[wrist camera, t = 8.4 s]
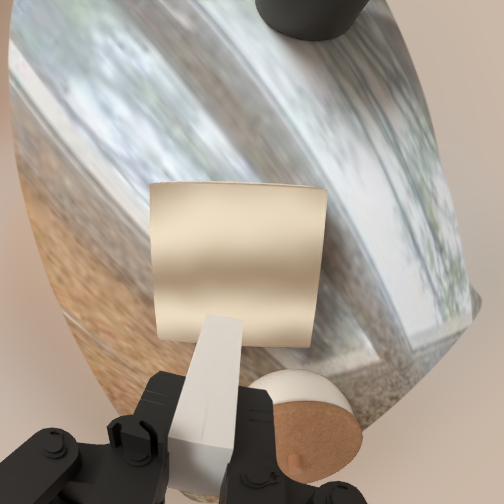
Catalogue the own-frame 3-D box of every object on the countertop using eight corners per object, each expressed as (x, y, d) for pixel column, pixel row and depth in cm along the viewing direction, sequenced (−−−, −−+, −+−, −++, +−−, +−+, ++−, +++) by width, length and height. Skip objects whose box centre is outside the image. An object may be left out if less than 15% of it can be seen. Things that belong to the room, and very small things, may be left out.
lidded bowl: (207, 397, 31) (192, 474, 20) (282, 325, 28) (295, 404, 18) (288, 440, 33) (295, 509, 22) (363, 382, 30) (394, 452, 20)
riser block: (172, 180, 25) (149, 183, 19) (311, 185, 25) (327, 190, 19) (175, 307, 28) (158, 339, 23) (299, 313, 28) (309, 347, 23)
